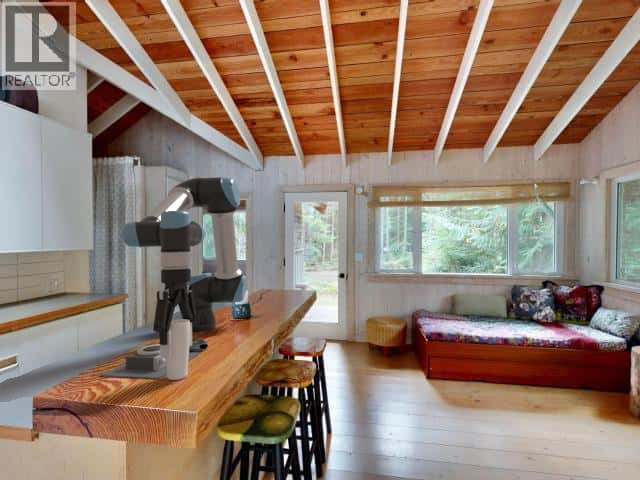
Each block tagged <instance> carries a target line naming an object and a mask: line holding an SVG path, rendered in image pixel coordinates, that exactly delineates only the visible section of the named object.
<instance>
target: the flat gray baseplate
mask: <svg viewBox="0 0 640 480" xmlns="http://www.w3.org/2000/svg"><path fill="white" fill-rule="evenodd" d="M199 354H200V355H201V354H202V352H189V358H188V362H190V361H192V360H193V359H195V358H196V357H198V356H199ZM194 357H195V358H194ZM191 359H192V360H191ZM189 360H190V361H189ZM99 376H100V377H108V378H124V377H132V378H131V379H144V378H148V379H147V380H161V379H162V378H164V377H165V376H166V377H167V370H166V359H165V357H160V343H157V344H156V343H155V344H149V345H144V346H143V347H142V346H141V347H139V348H138V349H137V350H136V352H133V353H131V354H129V355H126V356H125V363H122V364H120V365H118V366H115V367H114V368H112V369H109V370H107V371H105V372H103V373H101V374H100V375H99Z"/></svg>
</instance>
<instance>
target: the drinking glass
mask: <svg viewBox="0 0 640 480" xmlns="http://www.w3.org/2000/svg"><path fill="white" fill-rule="evenodd" d="M165 327H166V326H165ZM169 331H171V347H172V357H165V359H166V370H167V375H166V378H167V380H169V381H178V380H179V381H180V380H183V379H185V378H186V377H188V374H189V361H188V358H189V345H190V321H189V320H187V319H182V318H177V319H176V318H175V319H172V321H171V325H170V328H169Z"/></svg>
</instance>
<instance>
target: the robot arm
mask: <svg viewBox="0 0 640 480" xmlns="http://www.w3.org/2000/svg"><path fill="white" fill-rule="evenodd" d="M240 196H241V195H240V190H239V186H238V184H237V182H236V180H235V179H234V178H232V177H224V176H222V177H221V176H219V177H194V178H191V179H190V178H189V179H186V180H183V182H180V183H179V184H177V185H175V186H174V187H173V188H171V189H170V190H169V191H168V193H167V197H165V198H164V199H163V200H162V201H161V202H160V203H159V204H158V205H156V206H155V208H153V209H152V210H151V211H150V212H149V213H148V214H147V215H145V217H143V218H142V219H141V220H140V221H135V220H134V221H130V222H129V221H128V222H126V223H125V224H124V226H122V227H123V228H122V239H123V242H124V244H125V245H126V246H128V247H131V248H132V247H133V248H147V247H148V248H151V247H157V248H158V247H160V268H162V269H161V270H160V283H162V284H164V285H165V286H164V290H161V291H160V290H159V291H157V292H156V306H155V313H154V321H153V329H152V330H153V332H155V333H159V344H160V357H172V347H171V331H169V328H170V325H171V321H172V320H173V316H174V314H175V309H176V307H177V306H178V309H179V311H180V314H181V319H187V320H189V321H190V345H189V346H192V339H193V332H200V331H201V332H202V331H208V330H211V329H214V328H216V327H217V323H218V322H217V318H216V316H215V313H214V310H213V304H223V303H225V304H226V303H231V304H234V303H241V302H243V301H244V298H245V296H246V293H247V291H246V290H247V283H248V282H247V279H248V278H247V276H246V275H244V274H243V271H242V270H241V268H239V264H238V254H237V243H236V242H237V241H236V232H235V222H234V221H235V220H234V214H235V213H236V212H237V208H238V207H239V206H240V205H241V197H240ZM191 208H193V209H194V208H206V212H207V214H208V215H209V216H211V222H212V232H213V242H214V250H215V251H214V252H215V261H216V269H217V270H216V271H215V272H214V275H213V273H212V272H206V273H205V272H204V273H199V274H192V271H191V270H192V269H191V268H189V267H191V265H192V264H191V263H192V262H191V261H192V260H191V258H192V257H191V247H195V246H198V245H200V244H201V243H202V242H203V241H204V240H205V237H206V232H205V228H204V227H203V226H202V225H201V224H200V223H198V222H196V221H194V220H191V216H190V215H191V214H190V212H188V211H189V210H190V209H191ZM191 274H192V275H191ZM165 326H166V327H165Z"/></svg>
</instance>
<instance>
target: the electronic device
mask: <svg viewBox="0 0 640 480" xmlns="http://www.w3.org/2000/svg"><path fill="white" fill-rule="evenodd" d="M201 346H205V347H206V348H205V347H204V348H203V349H202V348H201ZM208 347H209V343H208V342H207V341H206V340H203V339H196V338H195V339H193V338H192V346H189V352H198V353H200V352H204V351H205V350H206V349H207V348H208ZM199 351H200V352H199Z"/></svg>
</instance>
